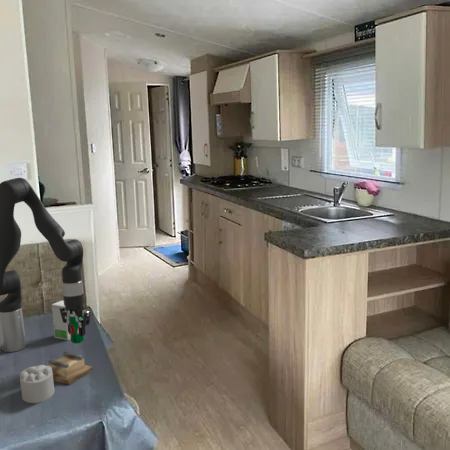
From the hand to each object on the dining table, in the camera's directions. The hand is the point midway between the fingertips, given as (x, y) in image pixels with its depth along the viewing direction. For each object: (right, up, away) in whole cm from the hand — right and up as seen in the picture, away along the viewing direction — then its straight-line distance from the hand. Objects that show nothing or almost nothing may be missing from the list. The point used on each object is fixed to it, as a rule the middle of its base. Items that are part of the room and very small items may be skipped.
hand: (77, 334), depth 193 cm
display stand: (-1, -13, -8) cm, 15 cm away
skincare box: (-13, -8, +29) cm, 32 cm away
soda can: (0, -3, +1) cm, 3 cm away
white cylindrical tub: (-7, -16, -22) cm, 28 cm away
